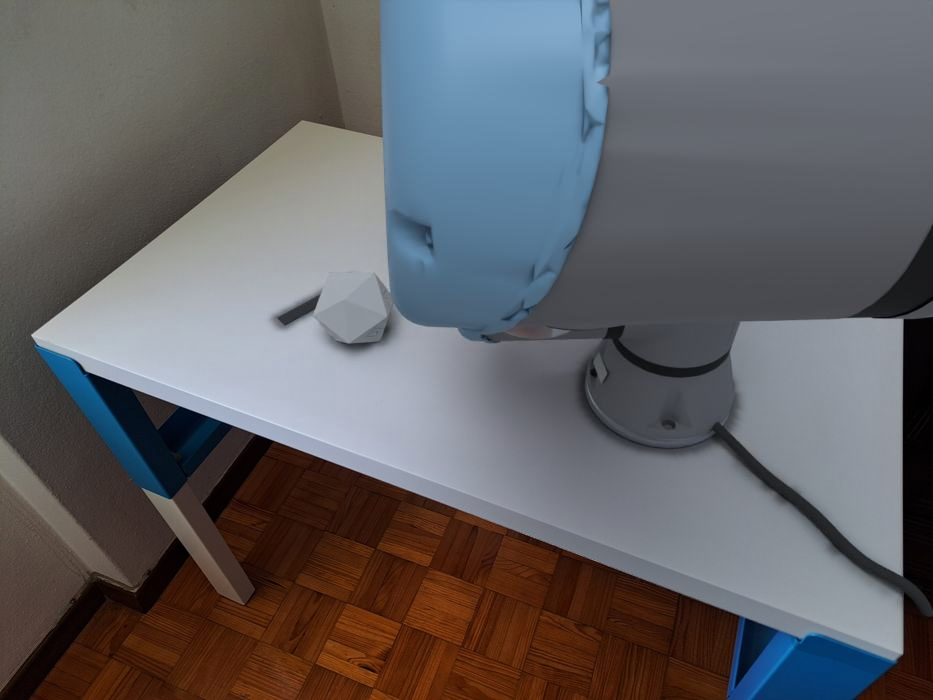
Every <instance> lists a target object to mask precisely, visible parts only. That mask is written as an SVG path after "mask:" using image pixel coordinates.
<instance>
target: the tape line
mask: <svg viewBox="0 0 933 700" xmlns="http://www.w3.org/2000/svg"><path fill="white" fill-rule="evenodd" d="M320 295H321V293H320V294H318V295H316V296H314V297H312V298H311V299H309V300H307V301H305V302H303V303H301V304H300V305H297V306H296V307H294V308H291V309H290V310H288V311H287V312H285V313H283V314H280V315H279V316H277V319H278V320H279V321H280V323H282V325H284V326H286V325H288V324H290V323H292V322H293V321H295V320H297V319H299V318H301V317H303V316H304V315H307V314H308V313H310V312H312V311H315V308H316V306H317V303H318V300H319V298H320Z"/></svg>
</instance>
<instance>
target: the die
mask: <svg viewBox="0 0 933 700" xmlns="http://www.w3.org/2000/svg"><path fill="white" fill-rule="evenodd" d="M320 294H321V295H320ZM320 294H319V295H320V298H319V300H318V303H317V306H316V308H315V309H314V310H313V315H312V317H313V318H314V319H315V320H316V322H318V323H319V324H320V325H321V326H322V328H324V329H325V331H327V333H328V334H329V335H330V336H331V337H332V338H333V339H334V340H335V341H337V342H341V343H344V344H360V343H361V344H362V343H375V342H381V340H382V338H383V336H384V332H385V329H386V326H387V324H388V321H389V318H390V316H391V313H392V310H393V307H394V306H395V305H394V303H393V301H392V297H391V293H390V290H388V288H387V287H386V286H385V284H384V283H383V281H382V280H381V279H380V278H379V277H378V275H377V274H376V273H375V272H340V271H339V272H333V271H332V272H328V274H327V276H326V279H325V282H324V284H323V287H322V290H321V293H320Z"/></svg>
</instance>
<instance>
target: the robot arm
mask: <svg viewBox="0 0 933 700" xmlns="http://www.w3.org/2000/svg"><path fill="white" fill-rule="evenodd" d="M379 36H380V37H379V41H380V85H381V86H380V87H381V93H380V94H381V125H382V126H381V128H382V157H383V159H382V161H383V184H384V185H383V186H384V187H383V189H384V208H385V209H384V210H385V214H384V215H385V232H386V233H385V235H386V252H387V269H388V270H387V271H388V285H389V292H390V293H391V297H392V301H393V303H394V305H393V306H394V307H395V309H396V310H397V312H399V314H401V316H402V317H404V318H405V319H406V320H407V321H409V322H411V323H413V324H415V325H418V326H422V327H426V328H451V329H457V330H458V332H459V334H460V335H461V336H462V337H463V338H465V339H466V340H468V341H471V342H484V343H485V344H488V345H491V344H499V343H501V342H528V341H529V342H531V341H533V342H534V341H573V340H574V341H575V340H600V342H599V343H598V345H597V346H596V348H595V350H594V351H593V353H592V355H591V356H590V359H589V361H588V364H587V367H586V372H585V373H586V374H585V380H584V383H585V384H584V389H585V390H584V391H585V395H586V400H587V403H588V404H589V407H590V408H591V410H592V411H593V413H594V414H595V416H596V417H597V418H598V419H599V420H600V421H601V422H602V423H603V424H604V425H605V426H606V427H608V428H609V429H610V430H611V431H613V432H614V433H616V434H618V436H621V437H623V438H625V439H627V440H629V441H631V442H634V443H638V444H640V445H643V446H648V447H654V448H664V449H675V448H683V447H688V446H693V445H695V444H698V443H699V444H700V443H702V442H703V441H705V440H708V439H709V438H711V437H712V436H714V435H715V434H716V435H717V436H718V437H719V438H720V439H721V440H722V441H723V442H724V443H725V444H726V445H727V446H728V447H729V448H730V449H731V450H732V451H733V452H734V453H735V454H736V455H737V456H738V457H739V459H741V460H742V461H743V462H744V463H745V464H746V465H747V466H748V467H749V468H750V469H751V470H752V471H753V473H755V474H756V475H757V476H758V477H759V478H761V480H763V481H764V482H765V483H767V484H768V485H769V486H770V487H772V488H773V489H774V490H776V491H777V492H778V493H779V494H781V495H782V496H783V497H785V498H786V499H787V500H788V501H790V502H791V503H792V504H794V505H795V506H796V507H797V508H798V509H800V510H801V511H802V512H803V513H804V514H805V515H806V516H808V518H810V519H811V520H812V521H813V522H814V523H815V524H816V525H817V526H818V527H819V528H820V530H822V532H824V533H825V535H826V536H827V537H828V538H829V539H830V540H831V541H832V542H833V543H834V544H835V546H837V547H838V549H840V550H841V551H842V552H843V553H844V554H845V555H846V556H848V558H850V559H851V560H852V561H853V562H854V563H855V564H857V565H858V566H859V567H861V568H863V569H864V570H865V571H867V572H868V573H870V574H872V575H873V576H876V577H878V578H880V579H881V580H884V581H885V582H887V583H889V584H891V585H893V586H895V588H897V589H900V590H901V591H902V592H904V593H905V594H906V595H907V596H908V597H909V598H910V599H911V600H912V601H913V603H914V605H915V607H916V608H917V610H918V612H920V613H921V614H922V615H923V616H926V617H928V618H930V617H933V608H932V605H931V604H930V602H929V600H928V598H927V597H926V596H925V594H924V593H923V592H922V591H921V589H920V588H918V586H916V585H915V584H914V583H913V582H912V581H910V580H909V579H907V578H906V577H904V576H902V575H901V574H899V573H897V572H895V571H893V570H891V569H889V568H888V567H885V566H884V565H881V564H879V563H878V562H876V561H875V560H873V559H871V558H870V557H868V556H867V555H866V554H864V553H863V552H862V551H861V550H859V549H858V547H856V546H855V545H854V544H853V543H851V541H849V540H848V539H847V538H846V537H845V535H843V534H842V533H841V531H840V530H839V529H837V527H836V526H835V525H834V524H833V523H832V522H831V521H830V520H829V519H828V518H827V517H826V516H825V515H824V514H823V513H822V512H821V511H820V510H819V509H818V508H816V507H815V506H814V505H813V504H812V503H811V502H809V501H808V500H807V499H806V498H804V496H802V495H801V494H799V493H798V492H797V491H796V490H794V489H793V488H792V487H791V486H789V485H788V484H786V483H785V482H783V480H781V479H780V478H779V477H778V476H776V475H775V474H774V473H773V472H772V471H770V470H769V469H768V468H766V467H765V466H764V465H763V464H762V463H761V462H760V461H759V460H758V459H757V458H756V457H755V456H754V455H753V454H752V453H751V452H750V451H749V450H748V449H747V448H746V447H745V446H744V445H743V444H742V443H741V442H740V441H739V439H737V438H736V437H734V435H733V434H732V433H731V432H729V431H728V429H726V428H725V427H724V425H725V423H726V422H727V420H728V419H729V416H730V413H731V410H732V407H733V405H734V400H735V391H736V390H735V388H736V387H735V380H734V376H733V375H734V374H733V365H732V357H731V350H732V347H733V345H734V341H735V339H736V336H737V333H738V330H739V327H740V324H741V322H775V321H776V322H777V321H778V322H779V321H812V320H813V321H816V320H817V321H818V320H821V321H823V320H841V319H867V318H868V319H870V318H871V319H875V320H876V319H877V320H878V319H881V320H882V319H883V320H885V319H886V320H916V319H926V318H933V0H379Z"/></svg>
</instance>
